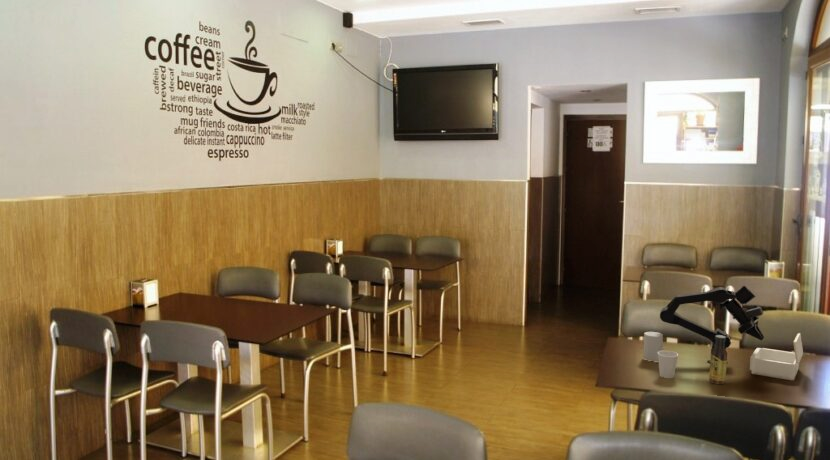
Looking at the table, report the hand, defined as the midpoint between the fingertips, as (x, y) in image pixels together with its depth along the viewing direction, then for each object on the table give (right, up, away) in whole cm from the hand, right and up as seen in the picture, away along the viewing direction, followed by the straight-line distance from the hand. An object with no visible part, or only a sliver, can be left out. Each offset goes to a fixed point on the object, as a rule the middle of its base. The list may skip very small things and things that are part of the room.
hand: (762, 339), depth 299 cm
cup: (-43, -12, +16) cm, 47 cm away
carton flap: (+11, -3, -7) cm, 13 cm away
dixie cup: (-45, -15, -8) cm, 48 cm away
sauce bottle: (-27, -16, -16) cm, 35 cm away
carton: (+5, -14, -2) cm, 15 cm away
